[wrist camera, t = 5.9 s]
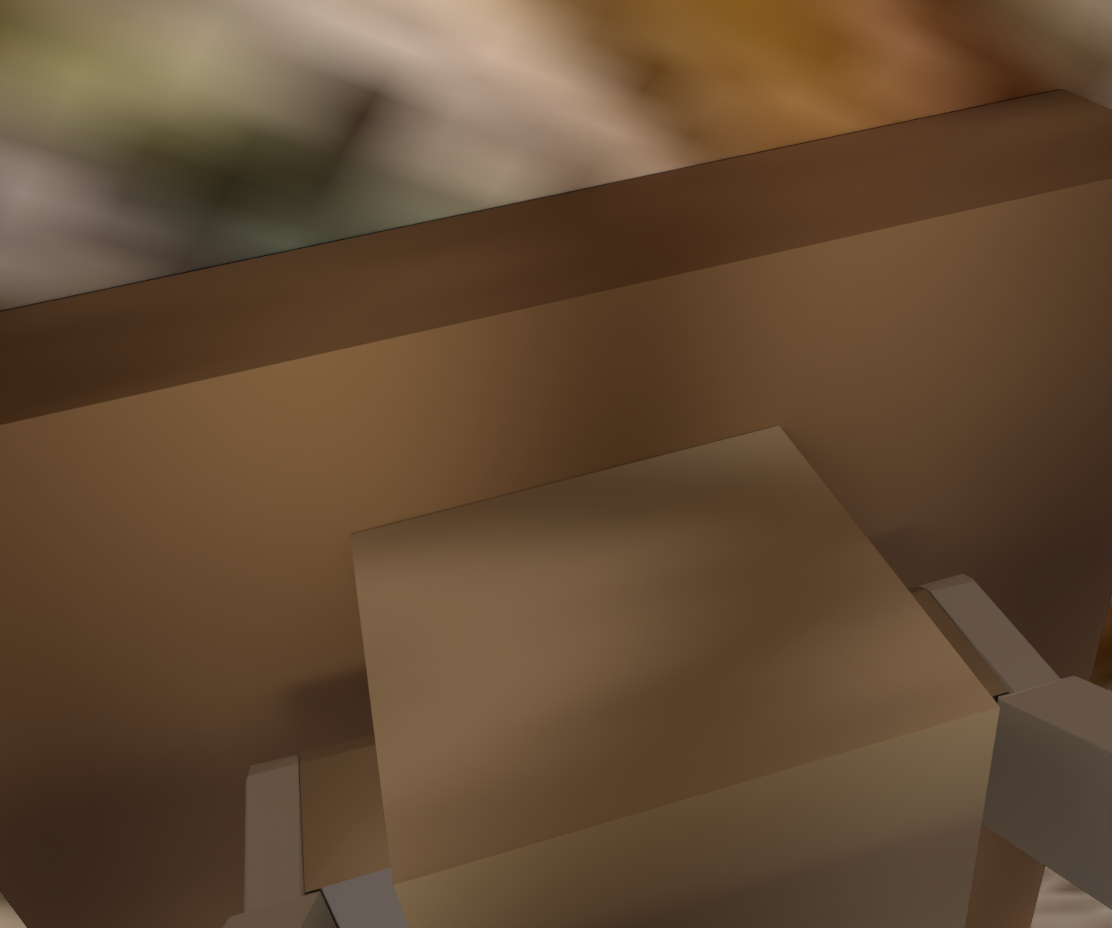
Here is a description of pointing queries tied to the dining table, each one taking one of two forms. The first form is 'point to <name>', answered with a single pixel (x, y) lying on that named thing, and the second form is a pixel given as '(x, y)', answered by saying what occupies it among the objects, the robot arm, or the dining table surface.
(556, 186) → the dining table surface
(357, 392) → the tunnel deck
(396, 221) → the dining table surface
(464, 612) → the birch bar
